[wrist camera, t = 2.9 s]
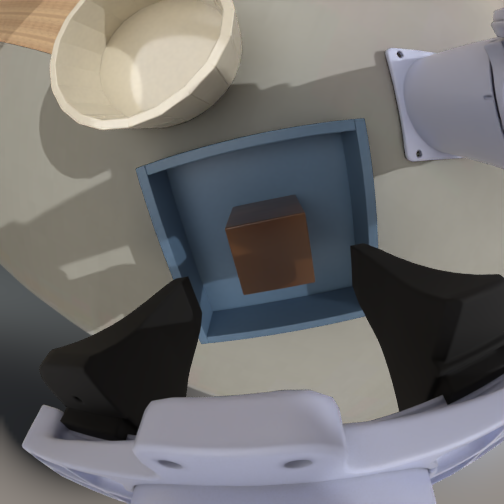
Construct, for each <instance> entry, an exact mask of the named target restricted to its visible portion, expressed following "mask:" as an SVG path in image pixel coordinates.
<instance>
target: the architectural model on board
mask: <svg viewBox="0 0 504 504" xmlns="http://www.w3.org/2000/svg"><path fill="white" fill-rule="evenodd" d="M79 1H80V0H0V41H1V42H6V43H11V44H15V45H20V46H24V47H28V48H32V49H36V50H39V51H43V52H46V53H50V54H52V50H53V46H54V43H55V40H56V37H57V35H58V33H59V31H60V29H61V27H62V25H63V23H64V21H65V19H66V17H67V16H68V15H69V13H70V12H71V11H72V10H73V8H74V7H75V6H76V5H77V3H78V2H79Z"/></svg>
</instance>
